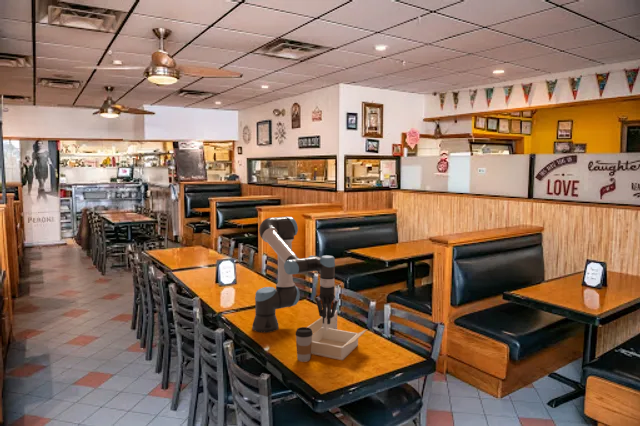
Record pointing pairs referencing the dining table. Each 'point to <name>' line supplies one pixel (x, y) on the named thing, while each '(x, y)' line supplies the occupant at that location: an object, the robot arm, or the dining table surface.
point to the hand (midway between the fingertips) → (326, 329)
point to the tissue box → (332, 321)
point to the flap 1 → (316, 325)
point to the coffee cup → (303, 343)
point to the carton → (332, 343)
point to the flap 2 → (355, 338)
